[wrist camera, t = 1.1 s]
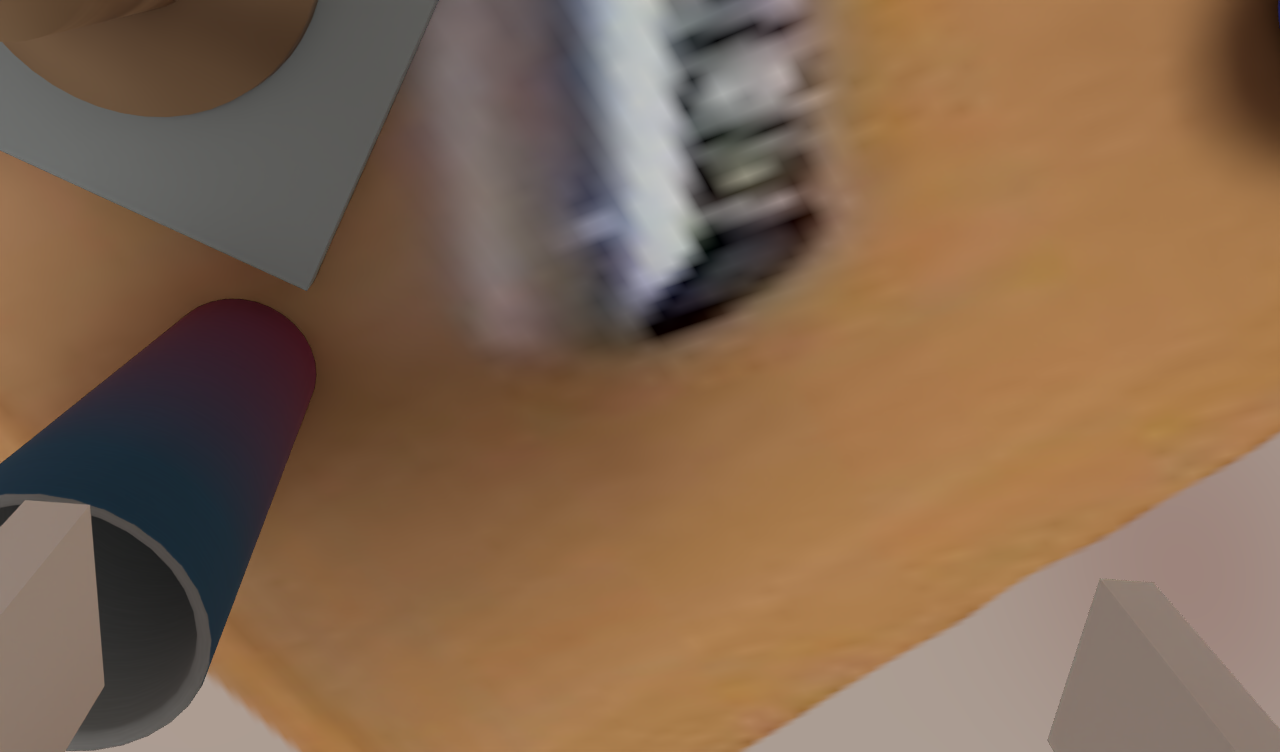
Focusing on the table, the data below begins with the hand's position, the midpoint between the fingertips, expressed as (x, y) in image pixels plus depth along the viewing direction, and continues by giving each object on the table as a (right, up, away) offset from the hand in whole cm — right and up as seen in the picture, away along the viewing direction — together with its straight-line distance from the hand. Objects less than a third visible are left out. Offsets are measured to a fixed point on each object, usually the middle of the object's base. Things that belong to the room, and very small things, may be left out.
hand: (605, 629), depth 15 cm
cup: (-13, +4, +24) cm, 27 cm away
